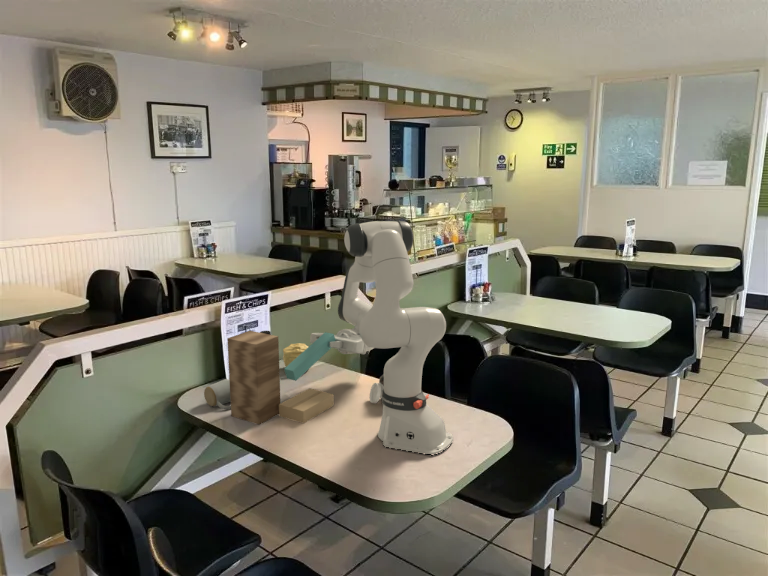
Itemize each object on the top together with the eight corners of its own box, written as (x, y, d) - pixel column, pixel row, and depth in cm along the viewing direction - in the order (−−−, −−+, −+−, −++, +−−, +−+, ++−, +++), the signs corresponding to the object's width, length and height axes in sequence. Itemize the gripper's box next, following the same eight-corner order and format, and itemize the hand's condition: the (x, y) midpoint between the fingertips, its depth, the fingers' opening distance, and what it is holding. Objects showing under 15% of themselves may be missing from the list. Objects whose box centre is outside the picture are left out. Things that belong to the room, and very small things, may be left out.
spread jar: (412, 403, 198) (412, 370, 196) (387, 412, 191) (387, 378, 188) (388, 392, 207) (388, 361, 204) (363, 401, 200) (363, 369, 197)
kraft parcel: (333, 405, 196) (333, 394, 195) (303, 423, 182) (303, 411, 181) (309, 399, 201) (309, 388, 200) (279, 416, 187) (278, 404, 186)
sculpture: (282, 375, 223) (281, 348, 221) (285, 364, 235) (284, 338, 233) (312, 374, 224) (311, 347, 222) (313, 364, 236) (313, 338, 233)
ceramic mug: (203, 404, 196) (201, 382, 194) (224, 396, 202) (223, 376, 200) (221, 413, 189) (220, 391, 188) (242, 406, 195) (241, 384, 194)
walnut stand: (280, 413, 190) (278, 336, 184) (259, 424, 181) (256, 344, 176) (253, 405, 196) (250, 330, 190) (231, 416, 187) (227, 338, 182)
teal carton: (336, 343, 200) (333, 333, 198) (296, 380, 184) (293, 371, 182) (327, 341, 202) (325, 332, 200) (286, 378, 186) (284, 368, 184)
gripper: (325, 328, 214) (300, 329, 202) (371, 336, 203) (348, 338, 191) (323, 345, 214) (298, 347, 202) (369, 354, 203) (346, 357, 191)
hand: (322, 343), depth 197 cm, fingers closed on teal carton, 4 cm apart
